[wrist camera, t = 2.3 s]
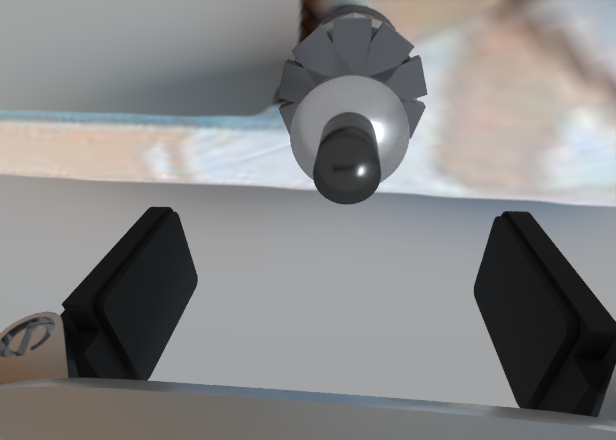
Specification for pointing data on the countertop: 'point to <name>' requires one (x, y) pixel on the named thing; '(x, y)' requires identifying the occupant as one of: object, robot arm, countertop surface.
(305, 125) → the plunger
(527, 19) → the countertop surface
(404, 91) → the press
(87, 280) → the robot arm
